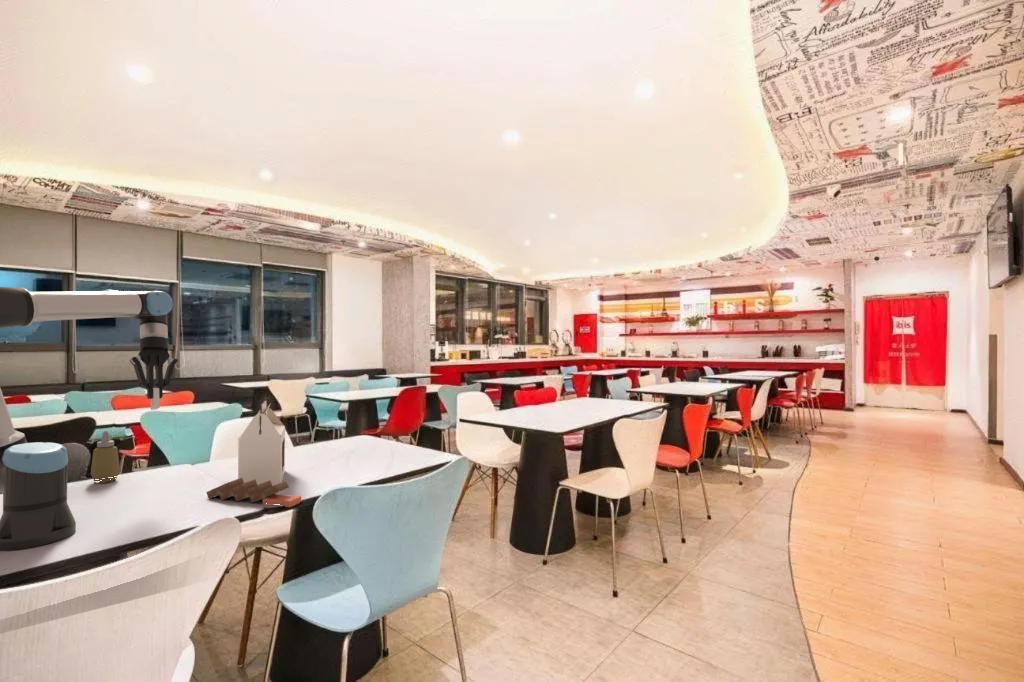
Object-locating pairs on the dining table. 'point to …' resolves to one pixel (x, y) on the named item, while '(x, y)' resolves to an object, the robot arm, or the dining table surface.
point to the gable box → (262, 449)
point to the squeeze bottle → (105, 460)
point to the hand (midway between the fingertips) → (155, 408)
